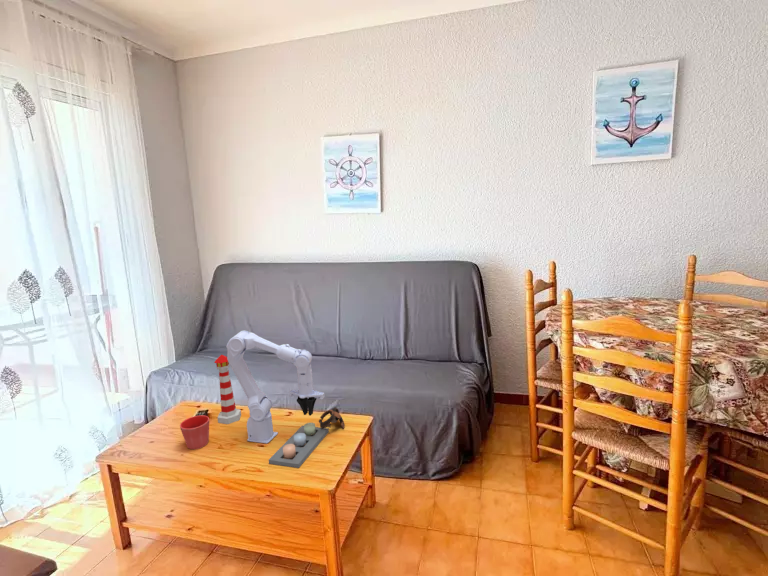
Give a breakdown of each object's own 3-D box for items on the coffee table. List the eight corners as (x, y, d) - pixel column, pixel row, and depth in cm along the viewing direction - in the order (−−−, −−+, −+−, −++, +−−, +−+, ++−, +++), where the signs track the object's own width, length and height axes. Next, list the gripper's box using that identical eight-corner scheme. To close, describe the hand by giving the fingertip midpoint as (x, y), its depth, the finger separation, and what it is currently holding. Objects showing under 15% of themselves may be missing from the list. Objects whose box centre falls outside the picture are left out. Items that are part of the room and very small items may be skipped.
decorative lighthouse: (245, 415, 187) (238, 351, 182) (232, 425, 179) (223, 358, 174) (227, 412, 191) (219, 350, 185) (213, 422, 182) (204, 356, 177)
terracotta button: (281, 457, 149) (280, 449, 149) (287, 451, 154) (286, 443, 153) (292, 459, 148) (291, 451, 148) (298, 452, 152) (297, 444, 152)
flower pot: (180, 454, 158) (176, 430, 157) (186, 439, 169) (183, 417, 167) (209, 449, 161) (206, 426, 159) (214, 435, 171) (211, 413, 169)
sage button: (302, 435, 164) (301, 427, 164) (307, 429, 169) (307, 422, 168) (312, 436, 163) (311, 428, 163) (317, 430, 167) (316, 423, 167)
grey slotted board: (268, 463, 149) (268, 459, 148) (302, 428, 172) (302, 425, 172) (298, 468, 145) (298, 464, 145) (328, 431, 168) (328, 428, 168)
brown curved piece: (344, 433, 167) (333, 419, 164) (325, 441, 170) (314, 428, 167) (348, 413, 178) (338, 399, 175) (330, 421, 181) (320, 407, 178)
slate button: (292, 445, 157) (291, 438, 156) (298, 439, 161) (297, 432, 160) (302, 447, 156) (302, 439, 155) (308, 441, 160) (307, 433, 159)
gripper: (283, 384, 161) (287, 417, 163) (317, 387, 156) (320, 420, 158) (292, 377, 167) (295, 409, 169) (325, 379, 163) (328, 412, 165)
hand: (308, 414), depth 164 cm, fingers closed
